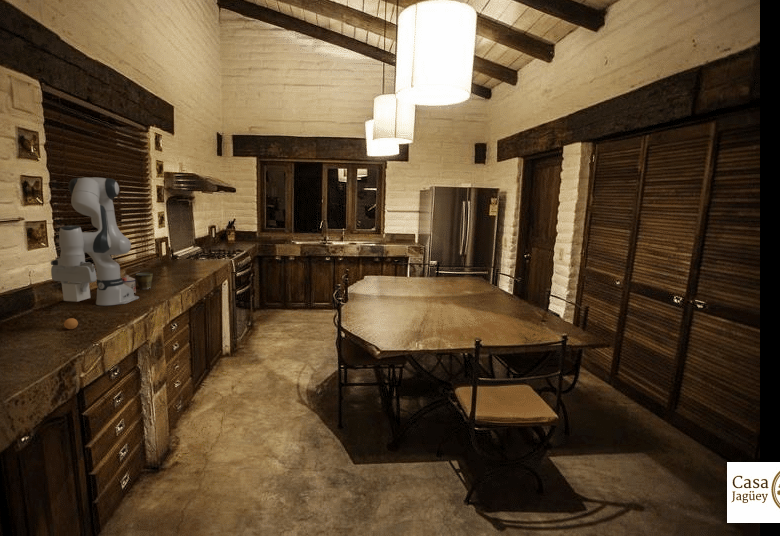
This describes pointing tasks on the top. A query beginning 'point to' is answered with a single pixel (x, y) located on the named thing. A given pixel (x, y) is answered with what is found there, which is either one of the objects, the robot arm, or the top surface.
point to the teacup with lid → (130, 283)
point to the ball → (71, 323)
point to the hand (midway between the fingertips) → (75, 291)
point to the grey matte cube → (74, 291)
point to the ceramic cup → (144, 280)
